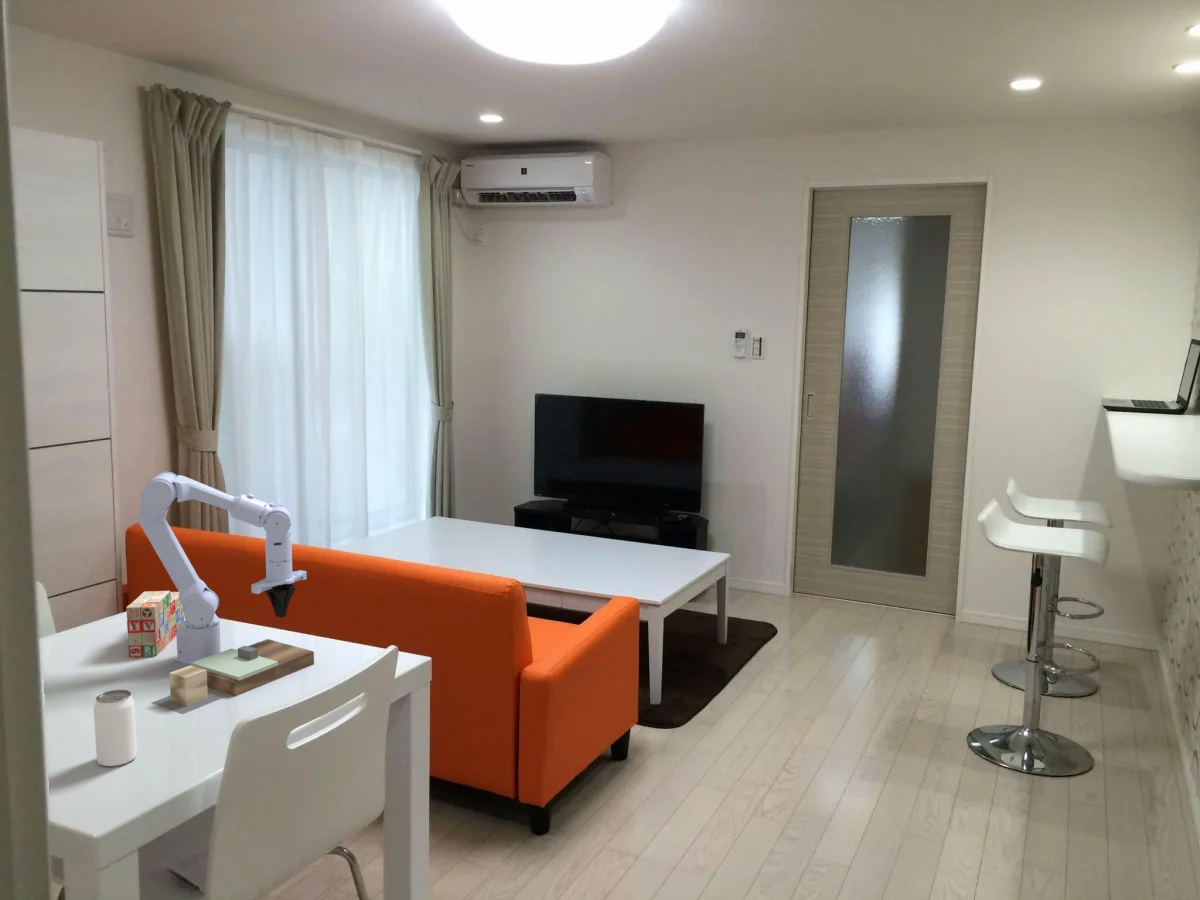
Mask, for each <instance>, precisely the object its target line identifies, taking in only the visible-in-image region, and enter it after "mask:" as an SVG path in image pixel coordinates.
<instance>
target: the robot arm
mask: <svg viewBox="0 0 1200 900" xmlns="http://www.w3.org/2000/svg"><path fill="white" fill-rule="evenodd" d="M139 498H140V506H139V515H138V516H139V517H138V523H139V525H140V527H141V528H142V530H143V532H144V534H145V536H146V537H147V539H148V541H149V542H150V544H151V546H152V547H153V549H154V551H155V554H157V556H158V558H159V560H160V561H161V563H162V565H163V567H164V569H165V570H166V573H168V575H169V577H170V579H171V581H172V583H173V584H174V585H175V588H176V589H177V592H179V596H180V601H181V604H182V605H183V610H184V621H183V622H182V623H181V624H180V625H179V627H178V629H177V633H176V636H175V638H176V653H177V657H174V659H173V661H175V662H181V663H184V664H187V665H189V666H190V665H191V663H192V662H195V661H198V660H200V659H203V658H206V657H209V656H212V655H215V654H217V653H220V652H222V650H221V625H220V623H221V621H220V618H219V616H217V613H215V612H216V611H217V610H218V608H219V605H220V599H219V596H218V595H217V593H215V591H213V590H211V589H210V588H209V587H208V585H207V584H206V583H205V581H203V580H202V579H201V578H200V577H199V576H198V574H197V572H196V570H195V568H194V566H193V565H192V564H191V562H190V561H191V560H190V559H189V558H188V556H187V555H186V553H185V551H184V549H183V547H182V546H181V544H180V542H179V540H178V538H177V537H176V535H175V534H174V531H173V530H172V527H171V526H170V525H169V523H168V521H167V519H166V517H167V514H168V512H169V510H170V507H171V504H172V503H173V501H175V499H176V498H177V500H176V501H177V503H181V502H186V501H191V500H196V501H199V502H201V503H205V504H207V505H210V506H214V507H216V508H217V507H218V508H220V509H223V510H226V511H228V512H229V513H230V515H231V517H232V518H233V519H235V520H237V521H240V522H244V523H247V524H249V525H252V526H255V527H257V528H263V529H264V531H265V538H266V539H265V541H264V542H265V543H264V544H265V569H266V570H265V574H266V577H265V578H263V579H260V580H258V581H257V582H255V583H251V585H250V586H251V590H250V591H251V594H256V595H258V594H259V595H260V594H261V593H263V592H265V594H266V596H267V598H268V599H269V601H270V603H271V605H272V609H273V611H274V615H275V617H278V618H280V619H281V618H285V617H286V616H287V614H288V609H289V605H290V603H291V599H292V596H293V595H294V593H295V591H296V585H295V584H293V583H295V582H298V581H305V580H307V571H306V570H301V569H299V570H295V571H293V549H292V547H293V544H292V541H293V540H292V538H291V537H292V531H291V526H292V514H291V512H290V511H289V509H288V508H286V507H285V506H283V505H282V504H275V503H274V502H272V501H271V502H270V501H269V503H268V502H265V501H263V500H259V499H257V498H255V495H254V494H252V493H248V494H247V495H246V494H244V493H241V494H239V495H237V496H233V495H230V494H229V493H226V492H223V491H221V490H219V489H217V488H214V487H211V486H209V485H207V484H204V483H201V482H199V481H197V480H196V479H192V478H190V477H187V476H185V475H180V474H179V475H177V474H175V473H174V472H170V471H163V472H159V473H157V474H156V475H155V476H154V477H153V478H152V480H151V479H150V481H148V483H147V484H145V487H144V488H143V490H142V493H141V494H140V497H139Z"/></svg>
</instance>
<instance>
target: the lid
mask: <svg viewBox="0 0 1200 900" xmlns="http://www.w3.org/2000/svg"><path fill="white" fill-rule="evenodd" d="M249 646H250V645H243V646H240V647H237V649H234V648H231V647H230V649H226V650H223V651H221V652H220V653H217V654H215V655H212V656H209V657H206V658H203V659H200V660H198V661H195V662H192V663H191V666H195V667H198V668H201V669H205V670H207V671H208V672H211V673H215V674H218V675H221V676H225V677H228V678H231V679H234V680H238V681H239V680H242V679H244V678H247V677H249V676H252V675H255V674H257V673H260V672H262V671H265V670H267V669H270V668H272V667H275V666H278V661H274V660H271V659H267V658H263V657H260V656H258V649H256V648H252V647H249Z"/></svg>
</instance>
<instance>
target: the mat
mask: <svg viewBox="0 0 1200 900" xmlns="http://www.w3.org/2000/svg"><path fill="white" fill-rule="evenodd" d="M224 698H225V696H224V695H220V694H218V693H214V692H211V691H208V698H206V699H204V700H201V701H199V702H196V703H194V704H191V705H189V706H185V705H182V704H179V703H176V702H173V701H171V695H168V696H165V697H163V698H160V699H157V700H154V701H152V702H151V704H153V705H155V706H159V707H161V708H165V709H168V710H170V711H173V712H175V713H179V714H180V715H181V714H182V715H184V714H187V713H189V712H192V711H194V710H197V709H199V708H201V707H204V706H206V705H209V704H212V703H214V702H216V701H219V700H221V699H224Z"/></svg>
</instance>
